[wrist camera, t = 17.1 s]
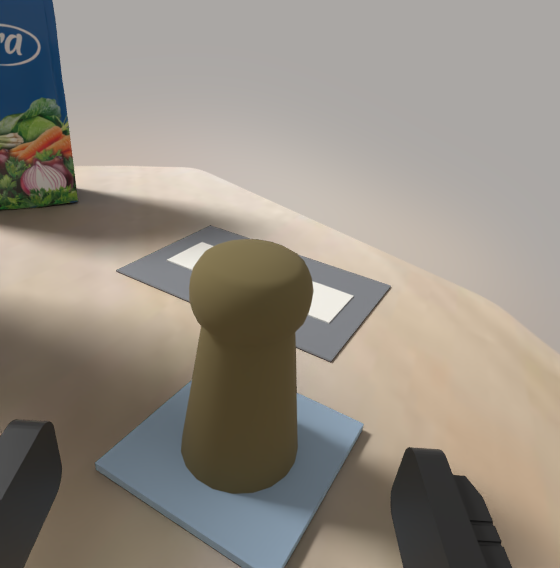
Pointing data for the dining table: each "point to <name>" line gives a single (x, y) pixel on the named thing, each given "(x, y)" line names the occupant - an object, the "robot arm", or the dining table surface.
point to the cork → (245, 364)
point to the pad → (225, 506)
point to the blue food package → (32, 110)
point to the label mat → (326, 281)
